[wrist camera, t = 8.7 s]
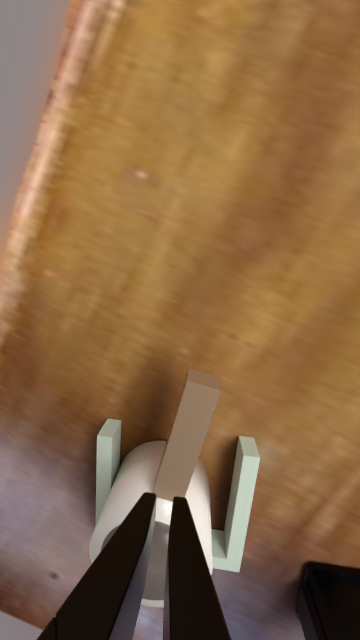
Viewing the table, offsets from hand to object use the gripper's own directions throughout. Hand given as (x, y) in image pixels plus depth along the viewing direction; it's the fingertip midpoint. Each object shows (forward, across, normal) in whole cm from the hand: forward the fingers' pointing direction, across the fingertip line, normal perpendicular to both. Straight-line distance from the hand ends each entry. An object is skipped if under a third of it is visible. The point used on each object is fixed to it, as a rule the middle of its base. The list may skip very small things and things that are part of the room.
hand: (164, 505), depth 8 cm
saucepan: (+12, 0, +7) cm, 14 cm away
